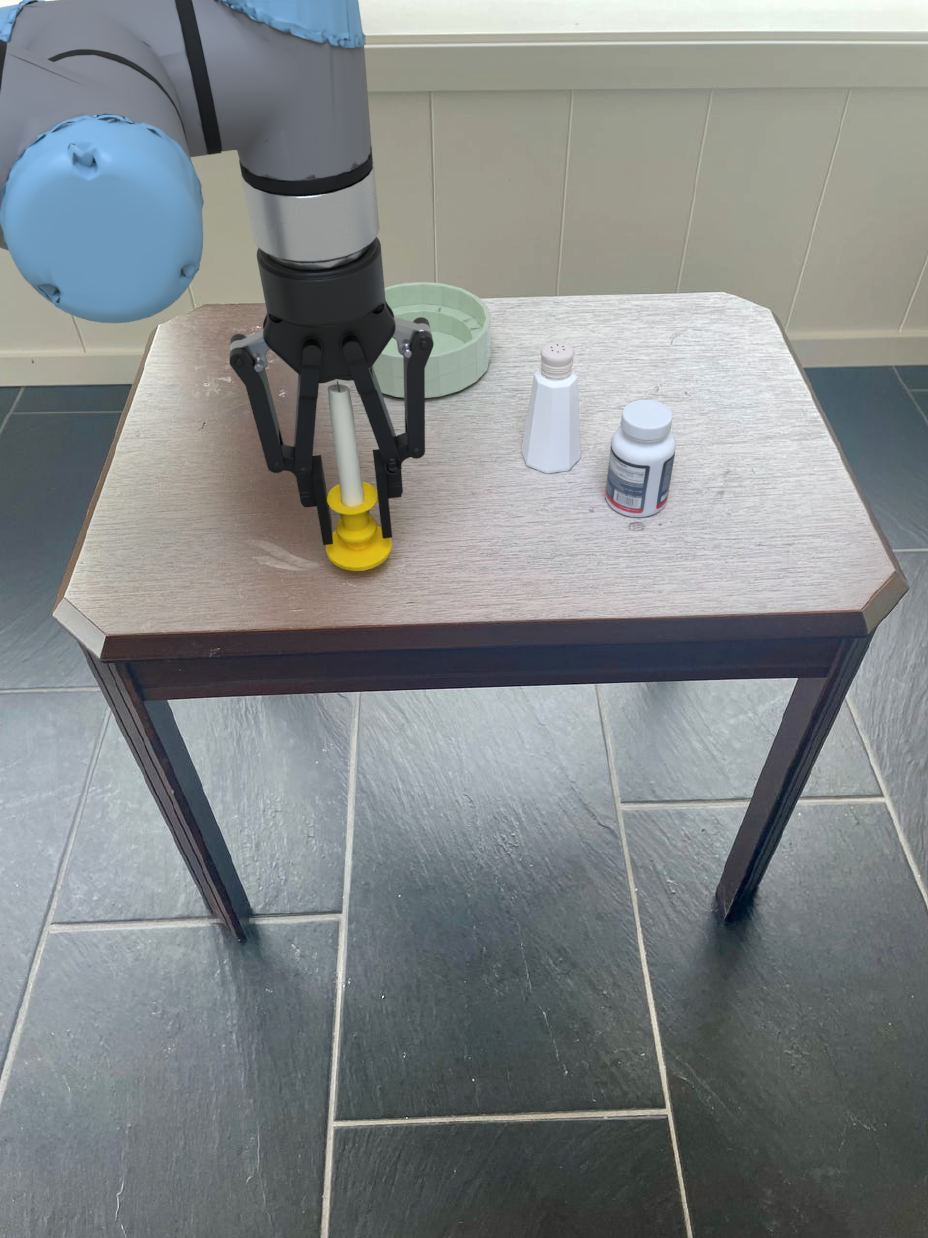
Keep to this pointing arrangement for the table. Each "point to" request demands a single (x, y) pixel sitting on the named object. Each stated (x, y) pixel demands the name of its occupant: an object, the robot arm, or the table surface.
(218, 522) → the table surface
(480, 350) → the bowl
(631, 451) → the pill bottle
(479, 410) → the table surface
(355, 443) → the candle
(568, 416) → the pepper shaker
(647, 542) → the table surface
